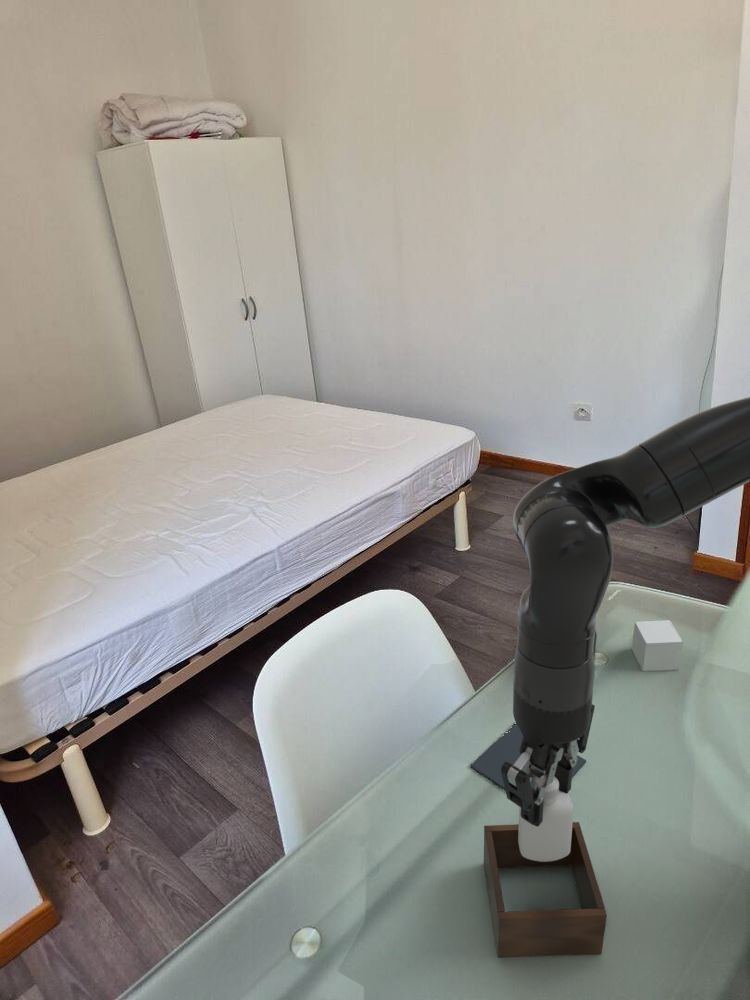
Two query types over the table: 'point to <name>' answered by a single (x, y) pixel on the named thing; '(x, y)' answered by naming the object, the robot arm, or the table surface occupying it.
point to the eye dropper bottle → (548, 828)
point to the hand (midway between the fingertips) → (546, 803)
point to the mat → (507, 757)
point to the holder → (544, 927)
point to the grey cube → (656, 645)
